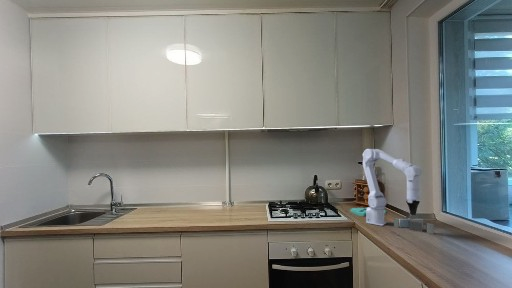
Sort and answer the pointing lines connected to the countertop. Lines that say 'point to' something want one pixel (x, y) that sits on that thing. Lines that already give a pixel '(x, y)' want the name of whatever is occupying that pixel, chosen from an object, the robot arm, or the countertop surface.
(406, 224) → the pale blue stick
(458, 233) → the countertop surface
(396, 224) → the grey long flat piece
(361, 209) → the teal pixel art cutout
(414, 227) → the block
